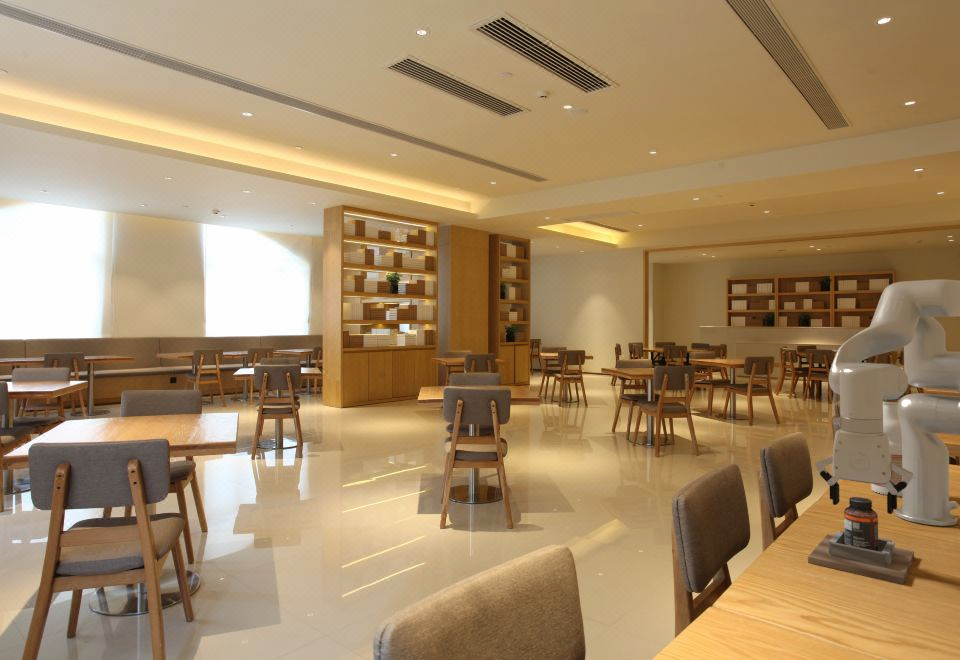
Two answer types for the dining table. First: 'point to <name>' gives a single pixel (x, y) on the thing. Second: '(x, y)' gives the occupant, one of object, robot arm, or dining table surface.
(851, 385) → the robot arm
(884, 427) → the fruit juice
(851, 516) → the supplement bottle
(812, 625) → the dining table surface
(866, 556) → the bottle holder
